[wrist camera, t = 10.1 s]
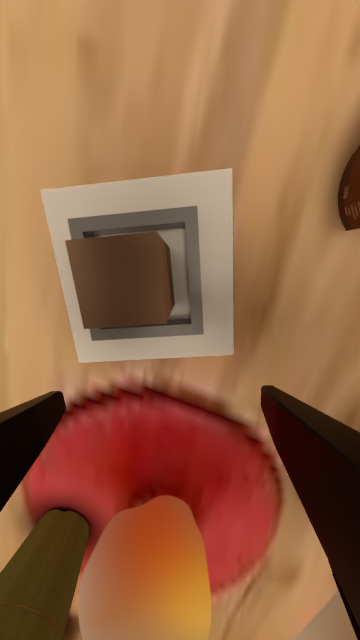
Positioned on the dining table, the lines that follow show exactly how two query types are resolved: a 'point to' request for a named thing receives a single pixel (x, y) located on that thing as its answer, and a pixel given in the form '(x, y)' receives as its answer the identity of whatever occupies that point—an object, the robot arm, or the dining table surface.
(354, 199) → the food container
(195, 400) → the dining table surface
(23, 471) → the robot arm
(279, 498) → the dining table surface
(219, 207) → the socket base
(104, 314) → the walnut peg
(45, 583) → the plant pot
